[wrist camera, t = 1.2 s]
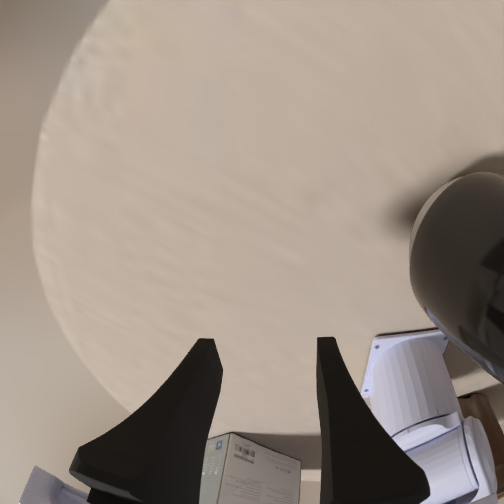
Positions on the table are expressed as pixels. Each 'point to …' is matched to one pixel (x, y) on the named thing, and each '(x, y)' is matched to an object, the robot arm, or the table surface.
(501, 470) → the plant pot
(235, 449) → the hard drive box
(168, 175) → the table surface
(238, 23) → the table surface
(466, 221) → the dark grey egg shape
